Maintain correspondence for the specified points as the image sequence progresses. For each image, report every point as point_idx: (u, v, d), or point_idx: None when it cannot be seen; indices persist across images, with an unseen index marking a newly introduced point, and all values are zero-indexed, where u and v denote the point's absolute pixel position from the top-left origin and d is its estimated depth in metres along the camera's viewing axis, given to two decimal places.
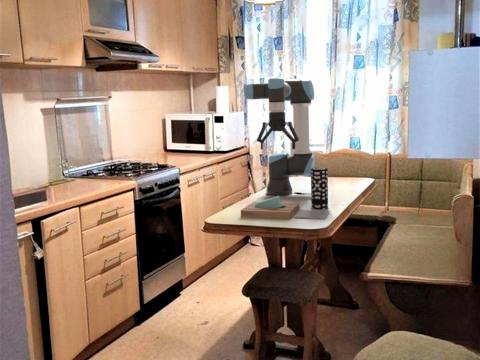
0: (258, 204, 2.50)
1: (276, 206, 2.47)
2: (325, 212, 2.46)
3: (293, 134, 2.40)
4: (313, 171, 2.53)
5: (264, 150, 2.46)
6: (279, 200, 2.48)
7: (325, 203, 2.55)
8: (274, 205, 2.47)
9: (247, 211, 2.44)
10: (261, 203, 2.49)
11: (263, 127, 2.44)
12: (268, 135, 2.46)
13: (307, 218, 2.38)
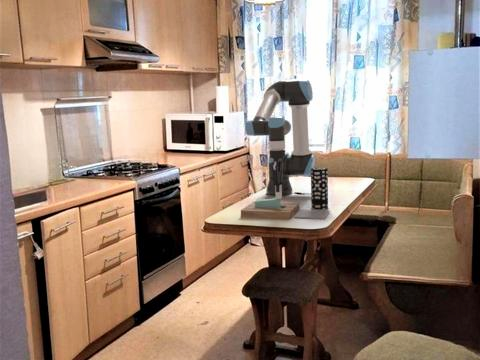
0: (258, 202, 2.50)
1: None
2: (325, 212, 2.46)
3: None
4: (313, 171, 2.53)
5: None
6: (279, 202, 2.48)
7: (325, 203, 2.55)
8: (273, 206, 2.47)
9: (247, 211, 2.44)
10: (261, 202, 2.49)
11: None
12: None
13: (307, 218, 2.38)
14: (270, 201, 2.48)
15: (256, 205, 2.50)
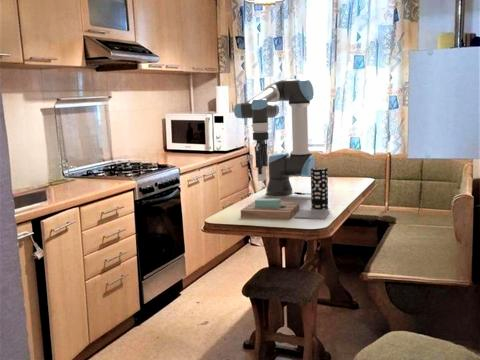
0: (258, 201, 2.50)
1: None
2: (325, 212, 2.46)
3: None
4: (313, 171, 2.53)
5: None
6: (279, 203, 2.48)
7: (325, 203, 2.55)
8: (273, 207, 2.47)
9: (247, 211, 2.44)
10: (261, 201, 2.49)
11: None
12: (262, 156, 2.49)
13: (307, 218, 2.38)
14: (270, 201, 2.47)
15: (256, 204, 2.50)
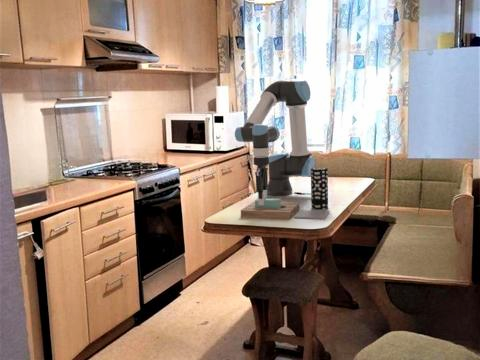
0: None
1: None
2: (325, 212, 2.46)
3: (256, 184, 2.45)
4: (313, 171, 2.53)
5: None
6: (279, 203, 2.48)
7: (325, 203, 2.55)
8: (273, 207, 2.48)
9: (247, 211, 2.44)
10: None
11: None
12: (263, 180, 2.51)
13: (307, 218, 2.38)
14: (270, 201, 2.48)
15: (256, 204, 2.50)
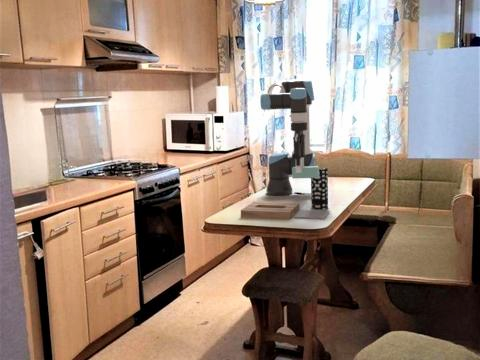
0: (295, 169, 2.41)
1: (313, 176, 2.38)
2: (325, 212, 2.46)
3: (294, 150, 2.36)
4: None
5: None
6: (318, 171, 2.39)
7: (325, 203, 2.55)
8: (311, 174, 2.38)
9: (247, 211, 2.44)
10: None
11: None
12: (300, 147, 2.42)
13: (307, 218, 2.38)
14: (308, 168, 2.38)
15: (293, 172, 2.41)
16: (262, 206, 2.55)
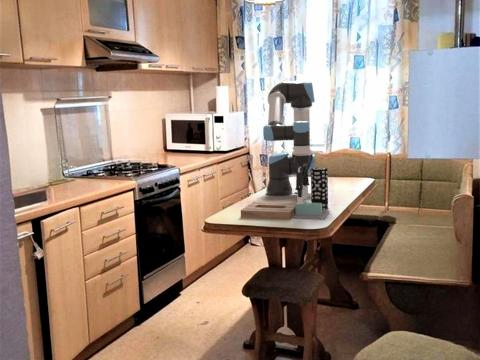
0: (299, 205, 2.43)
1: (316, 213, 2.41)
2: (325, 212, 2.46)
3: None
4: (313, 171, 2.53)
5: (302, 193, 2.49)
6: (321, 208, 2.42)
7: (325, 203, 2.55)
8: (314, 211, 2.41)
9: (247, 211, 2.44)
10: (302, 205, 2.43)
11: None
12: (304, 178, 2.46)
13: (307, 218, 2.38)
14: (312, 205, 2.41)
15: (297, 208, 2.44)
16: (262, 206, 2.55)
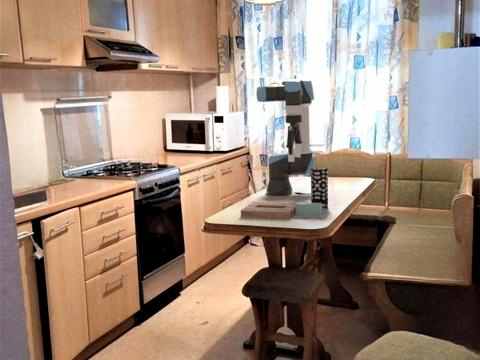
0: (299, 205, 2.43)
1: (316, 213, 2.41)
2: (325, 212, 2.46)
3: None
4: (313, 171, 2.53)
5: (295, 151, 2.50)
6: (321, 208, 2.42)
7: (325, 203, 2.55)
8: (314, 211, 2.41)
9: (247, 211, 2.44)
10: (302, 205, 2.43)
11: None
12: (296, 137, 2.47)
13: (307, 218, 2.38)
14: (312, 205, 2.41)
15: (297, 208, 2.44)
16: (262, 206, 2.55)
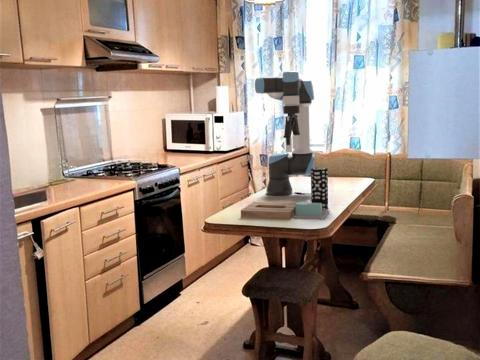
0: (299, 205, 2.43)
1: (316, 213, 2.41)
2: (325, 212, 2.46)
3: (285, 129, 2.35)
4: (313, 171, 2.53)
5: (293, 142, 2.50)
6: (321, 208, 2.42)
7: (325, 203, 2.55)
8: (314, 211, 2.41)
9: (247, 211, 2.44)
10: (302, 205, 2.43)
11: None
12: (294, 128, 2.46)
13: (307, 218, 2.38)
14: (312, 205, 2.41)
15: (297, 208, 2.44)
16: (262, 206, 2.55)
